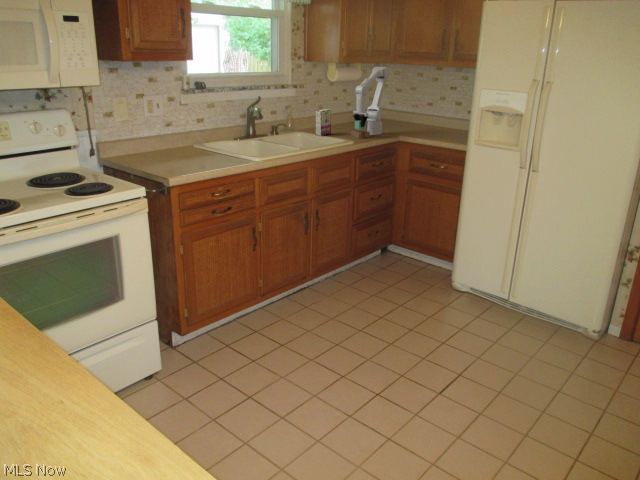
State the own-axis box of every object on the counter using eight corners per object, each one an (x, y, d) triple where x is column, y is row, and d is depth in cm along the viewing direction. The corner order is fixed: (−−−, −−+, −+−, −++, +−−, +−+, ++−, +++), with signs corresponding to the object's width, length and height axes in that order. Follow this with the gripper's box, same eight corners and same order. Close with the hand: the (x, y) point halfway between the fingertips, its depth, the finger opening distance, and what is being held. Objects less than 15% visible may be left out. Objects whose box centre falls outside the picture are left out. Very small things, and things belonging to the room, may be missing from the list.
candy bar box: (325, 133, 362) (325, 108, 356) (331, 134, 359) (331, 109, 353) (315, 135, 354) (315, 110, 348) (321, 136, 351) (321, 110, 345)
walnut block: (360, 136, 355) (361, 130, 354) (369, 138, 348) (369, 131, 347) (350, 137, 350) (350, 131, 349) (358, 139, 343) (359, 133, 342)
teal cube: (361, 128, 350) (361, 120, 348) (365, 129, 346) (365, 121, 344) (354, 128, 348) (354, 120, 346) (359, 129, 344) (359, 121, 342)
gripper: (349, 104, 346) (348, 125, 350) (362, 106, 334) (361, 128, 339) (358, 103, 349) (357, 124, 354) (371, 105, 337) (370, 127, 342)
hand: (360, 126), depth 346 cm, fingers closed on teal cube, 5 cm apart
